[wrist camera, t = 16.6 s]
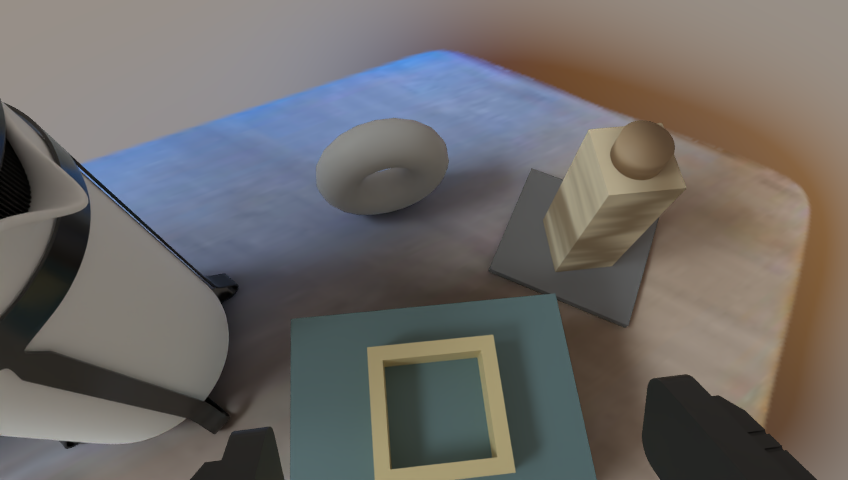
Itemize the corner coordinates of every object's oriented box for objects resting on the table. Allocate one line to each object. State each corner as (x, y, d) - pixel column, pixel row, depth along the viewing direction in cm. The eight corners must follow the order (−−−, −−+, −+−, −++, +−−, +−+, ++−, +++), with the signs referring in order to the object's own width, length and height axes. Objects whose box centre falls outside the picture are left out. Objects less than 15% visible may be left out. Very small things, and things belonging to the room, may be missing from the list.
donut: (331, 234, 41) (307, 167, 32) (323, 198, 42) (298, 124, 33) (450, 206, 42) (459, 134, 33) (439, 172, 43) (445, 93, 34)
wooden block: (555, 272, 39) (618, 181, 27) (542, 220, 41) (597, 113, 29) (611, 266, 39) (700, 173, 27) (597, 215, 41) (673, 106, 29)
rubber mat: (488, 271, 40) (489, 268, 39) (530, 172, 44) (531, 168, 43) (625, 327, 38) (628, 325, 37) (656, 219, 42) (659, 216, 41)
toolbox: (315, 547, 32) (280, 573, 24) (312, 345, 37) (283, 309, 29) (570, 516, 33) (621, 531, 25) (532, 323, 38) (563, 282, 30)
